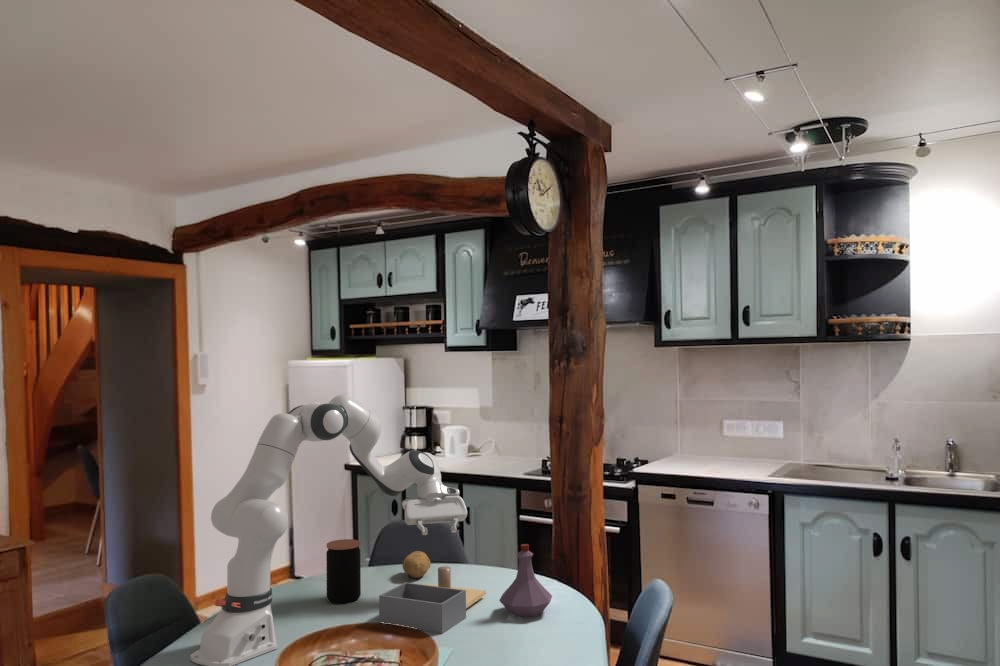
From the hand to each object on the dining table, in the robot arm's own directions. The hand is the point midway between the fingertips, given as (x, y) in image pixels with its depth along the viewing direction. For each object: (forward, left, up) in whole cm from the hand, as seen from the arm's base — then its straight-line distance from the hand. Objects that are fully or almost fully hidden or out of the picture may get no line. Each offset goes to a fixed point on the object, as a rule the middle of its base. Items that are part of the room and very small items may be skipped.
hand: (439, 532), depth 228 cm
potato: (+22, +22, -22) cm, 38 cm away
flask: (+2, -29, -22) cm, 36 cm away
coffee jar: (-9, +30, -22) cm, 39 cm away
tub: (-16, -4, -22) cm, 27 cm away
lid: (+2, 0, -22) cm, 22 cm away
